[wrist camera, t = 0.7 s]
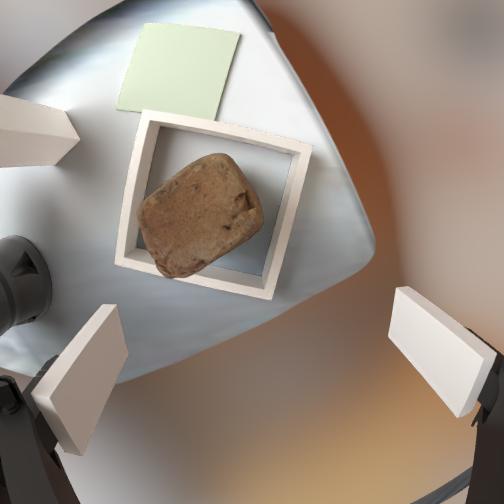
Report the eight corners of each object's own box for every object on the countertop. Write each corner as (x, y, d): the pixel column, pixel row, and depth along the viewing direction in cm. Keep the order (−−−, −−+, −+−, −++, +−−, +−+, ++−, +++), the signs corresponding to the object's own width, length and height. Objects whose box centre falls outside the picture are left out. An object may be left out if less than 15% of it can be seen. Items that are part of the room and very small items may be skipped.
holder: (127, 254, 40) (114, 264, 35) (154, 116, 36) (143, 109, 31) (267, 286, 42) (271, 300, 37) (303, 148, 38) (312, 145, 33)
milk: (65, 111, 34) (-39, 83, 13) (81, 140, 36) (-28, 125, 14) (39, 137, 35) (-67, 129, 13) (54, 167, 36) (-56, 173, 15)
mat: (116, 109, 35) (115, 108, 34) (146, 24, 32) (145, 22, 31) (213, 124, 36) (213, 123, 36) (239, 34, 33) (240, 33, 32)
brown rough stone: (230, 154, 38) (223, 135, 18) (261, 203, 39) (283, 232, 20) (161, 200, 39) (95, 226, 19) (192, 246, 40) (154, 310, 21)
